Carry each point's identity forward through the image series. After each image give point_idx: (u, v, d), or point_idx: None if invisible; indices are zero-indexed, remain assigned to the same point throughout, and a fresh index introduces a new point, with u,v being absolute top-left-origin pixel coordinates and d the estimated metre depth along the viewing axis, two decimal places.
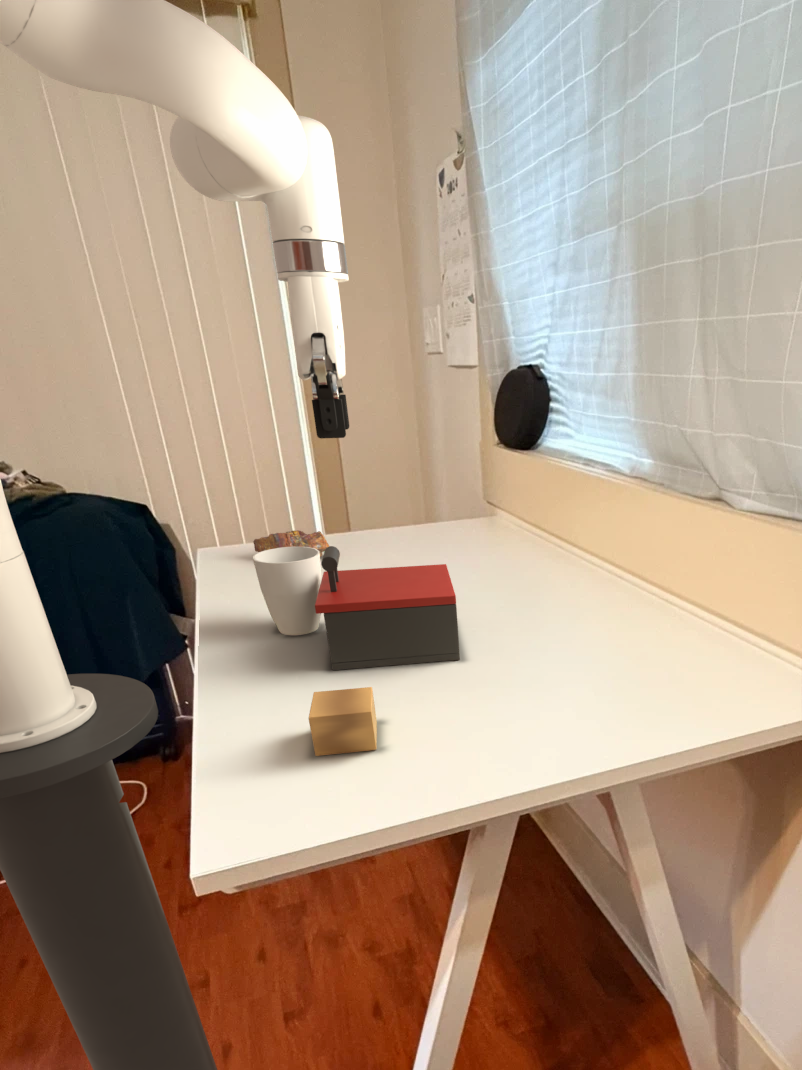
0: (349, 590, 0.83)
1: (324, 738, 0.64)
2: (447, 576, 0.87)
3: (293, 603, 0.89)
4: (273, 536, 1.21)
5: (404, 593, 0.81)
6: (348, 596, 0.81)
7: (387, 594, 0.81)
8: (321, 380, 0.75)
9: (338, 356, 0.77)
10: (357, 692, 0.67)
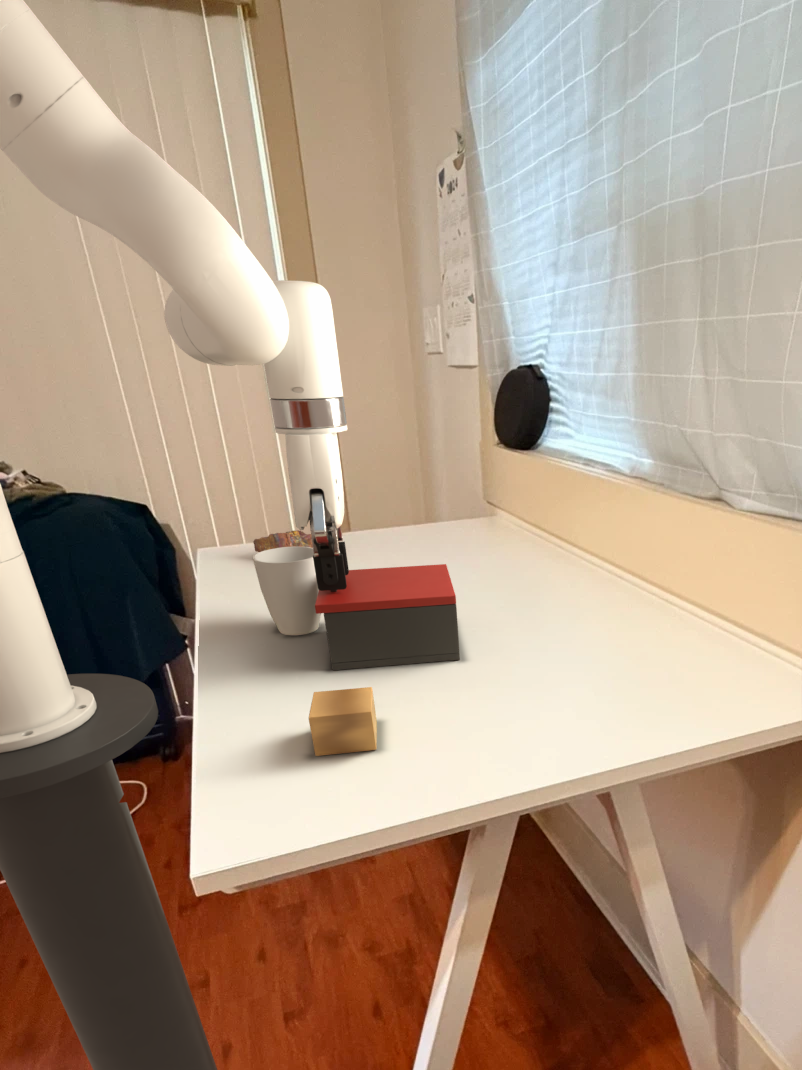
0: (349, 590, 0.83)
1: (324, 738, 0.64)
2: (447, 576, 0.87)
3: (293, 603, 0.89)
4: (273, 536, 1.21)
5: (404, 593, 0.81)
6: (348, 597, 0.81)
7: (387, 594, 0.81)
8: (322, 545, 0.76)
9: (337, 509, 0.76)
10: (357, 692, 0.67)
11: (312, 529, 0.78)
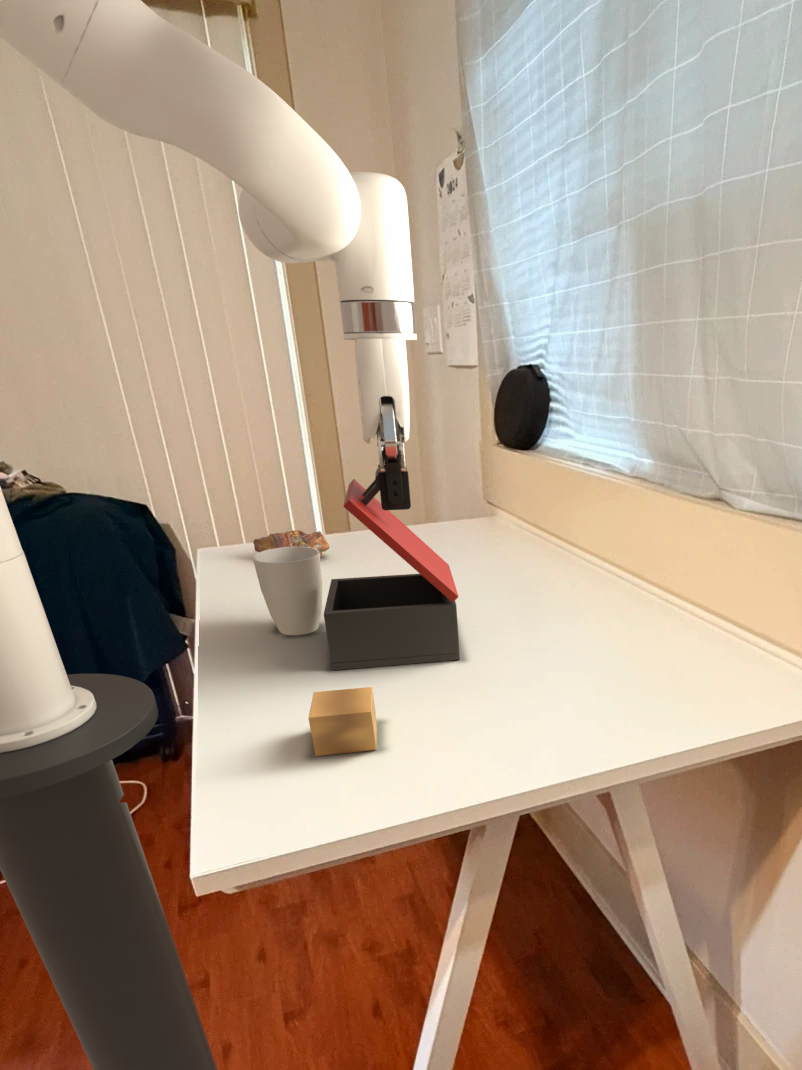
0: (376, 514, 0.79)
1: (324, 738, 0.64)
2: (451, 575, 0.87)
3: (293, 603, 0.89)
4: (273, 536, 1.21)
5: (420, 558, 0.80)
6: (376, 519, 0.77)
7: (407, 546, 0.79)
8: (391, 457, 0.74)
9: (406, 420, 0.73)
10: (357, 692, 0.67)
11: (379, 442, 0.75)
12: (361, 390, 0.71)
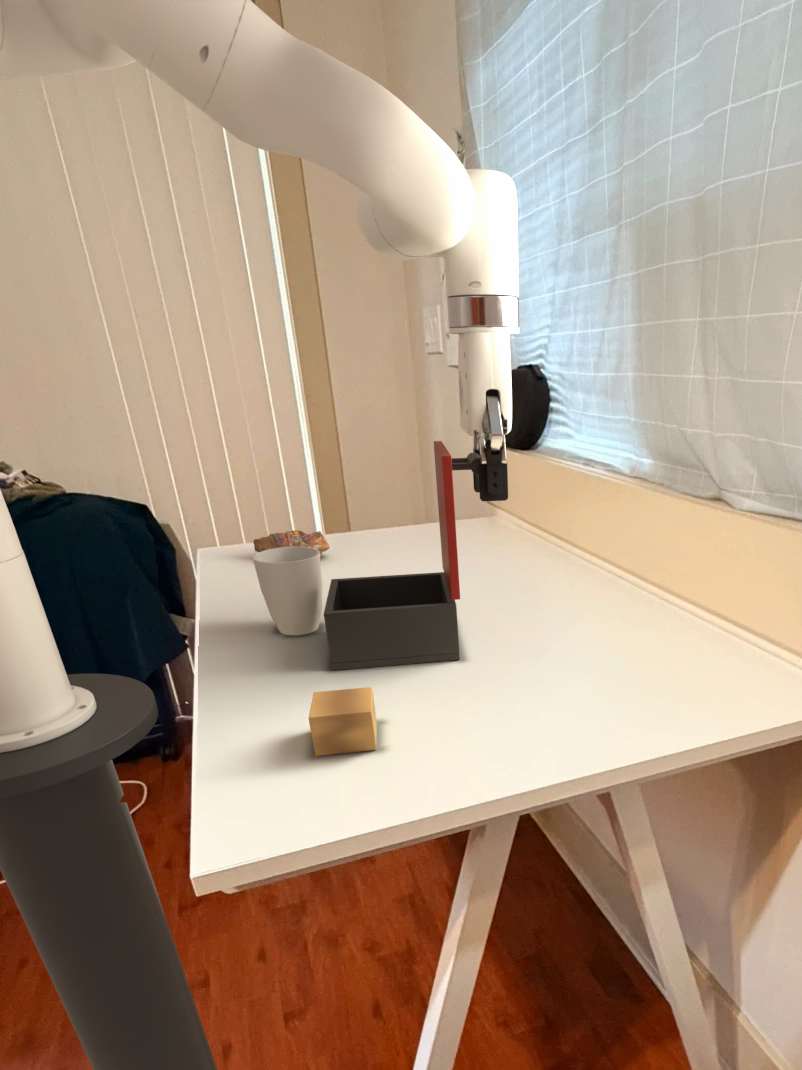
0: None
1: (324, 738, 0.64)
2: None
3: (293, 603, 0.89)
4: (273, 536, 1.21)
5: None
6: None
7: None
8: (494, 449, 0.75)
9: (510, 412, 0.75)
10: (357, 692, 0.67)
11: (481, 435, 0.76)
12: (468, 383, 0.73)
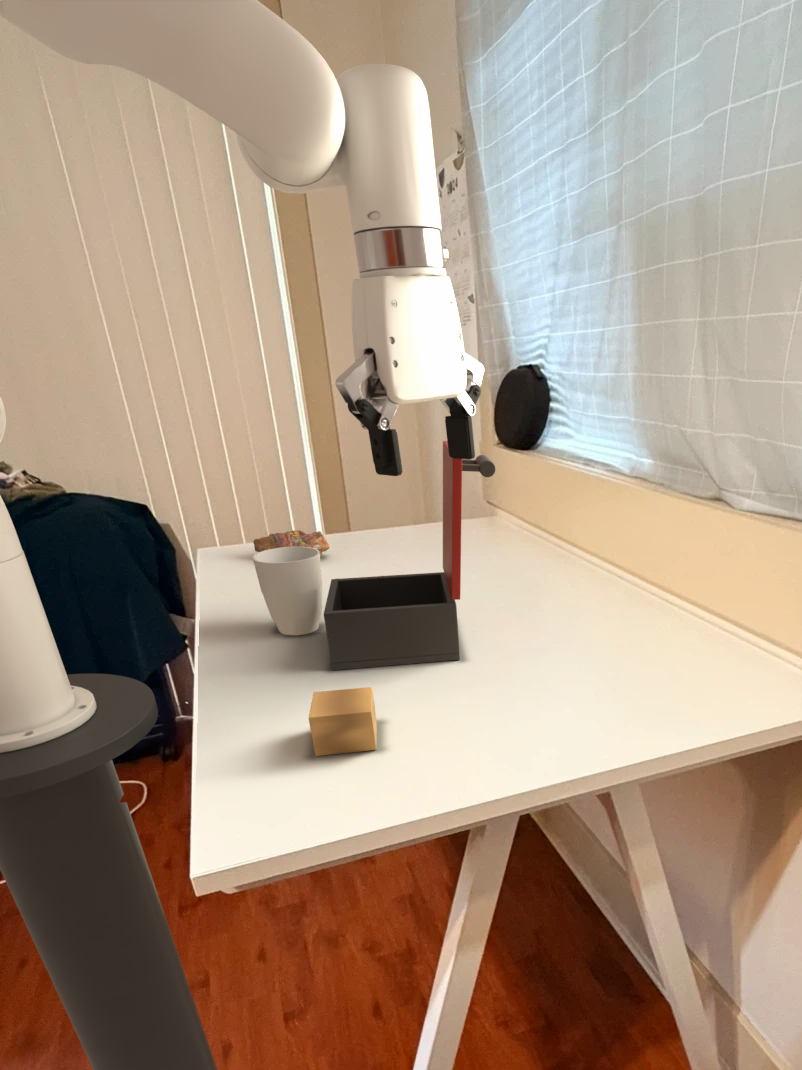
0: None
1: (324, 738, 0.64)
2: None
3: (293, 603, 0.89)
4: (273, 536, 1.21)
5: None
6: None
7: None
8: (353, 408, 0.61)
9: (388, 377, 0.61)
10: (357, 692, 0.67)
11: (372, 394, 0.64)
12: (353, 342, 0.62)
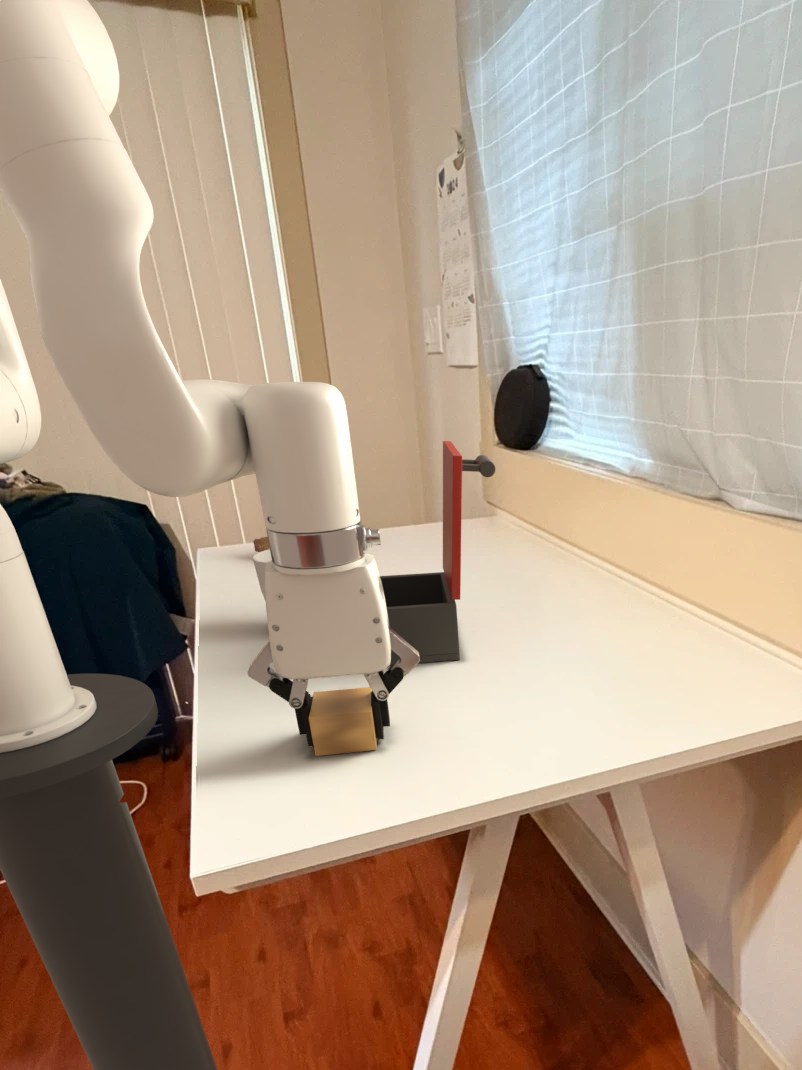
0: None
1: (324, 738, 0.64)
2: None
3: None
4: None
5: None
6: None
7: None
8: None
9: (274, 658, 0.60)
10: (357, 692, 0.67)
11: None
12: None
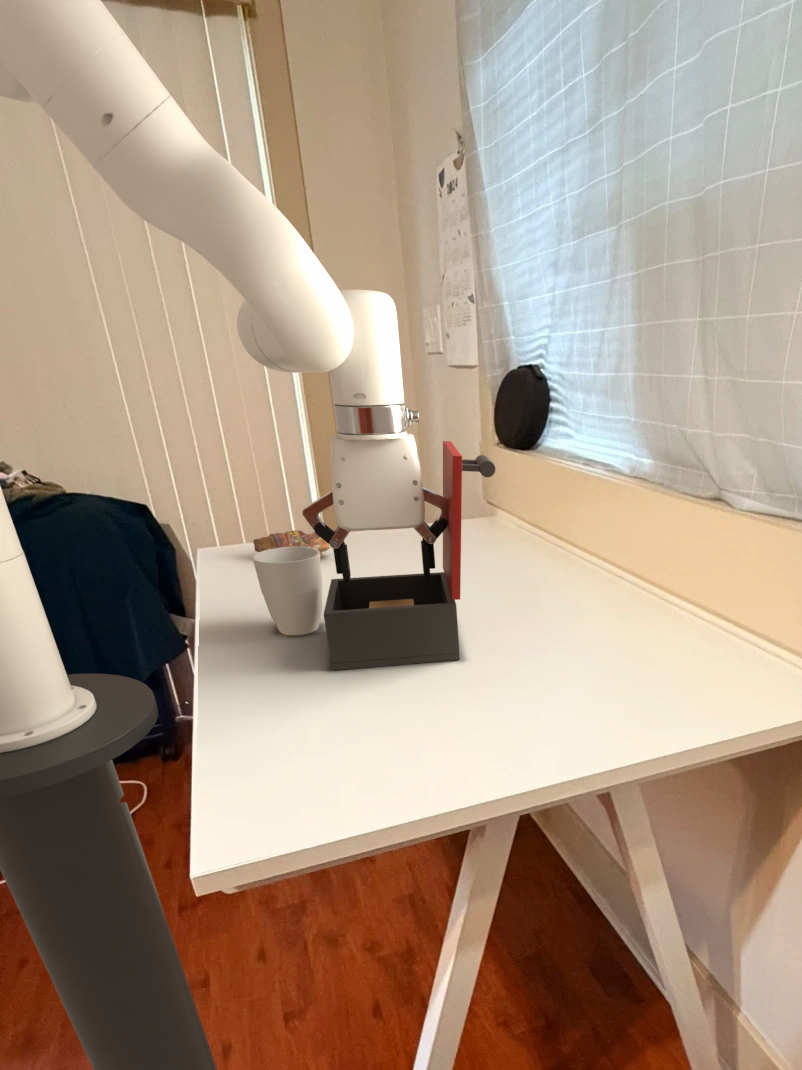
0: None
1: None
2: None
3: (293, 603, 0.89)
4: (273, 536, 1.21)
5: None
6: None
7: None
8: None
9: (336, 511, 0.79)
10: (403, 602, 0.88)
11: None
12: None
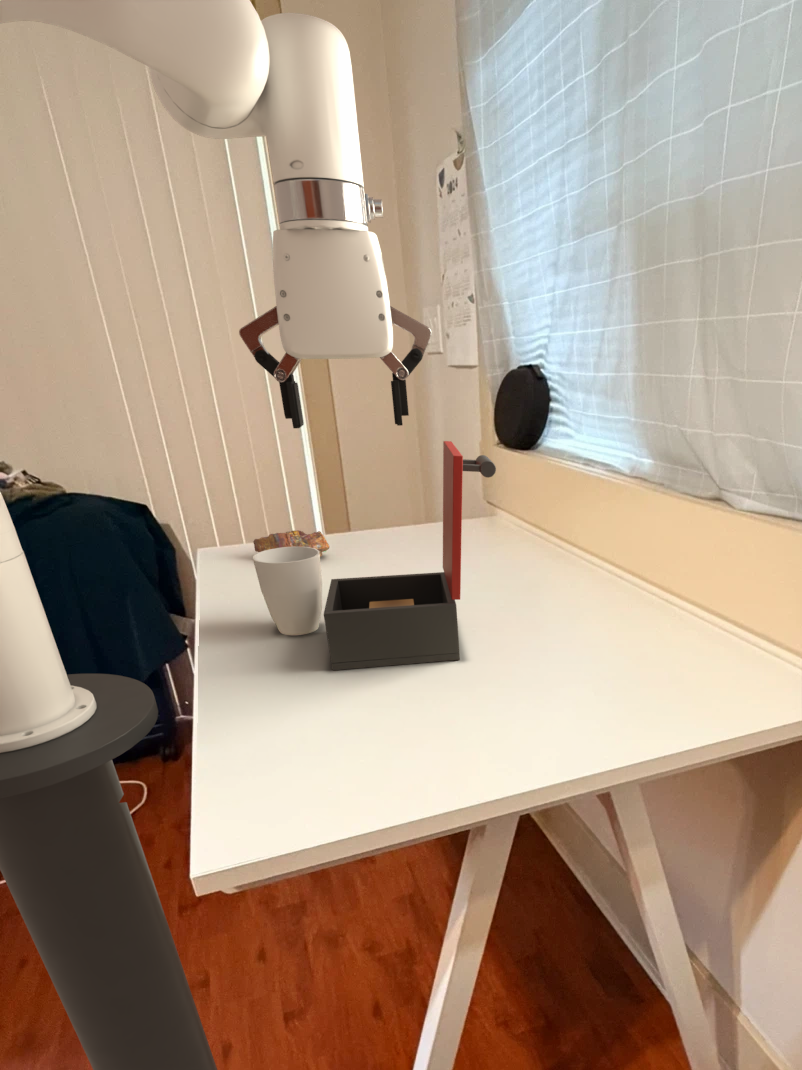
0: None
1: None
2: None
3: (293, 603, 0.89)
4: (273, 536, 1.21)
5: None
6: None
7: None
8: None
9: (281, 330, 0.63)
10: (403, 602, 0.88)
11: None
12: None
